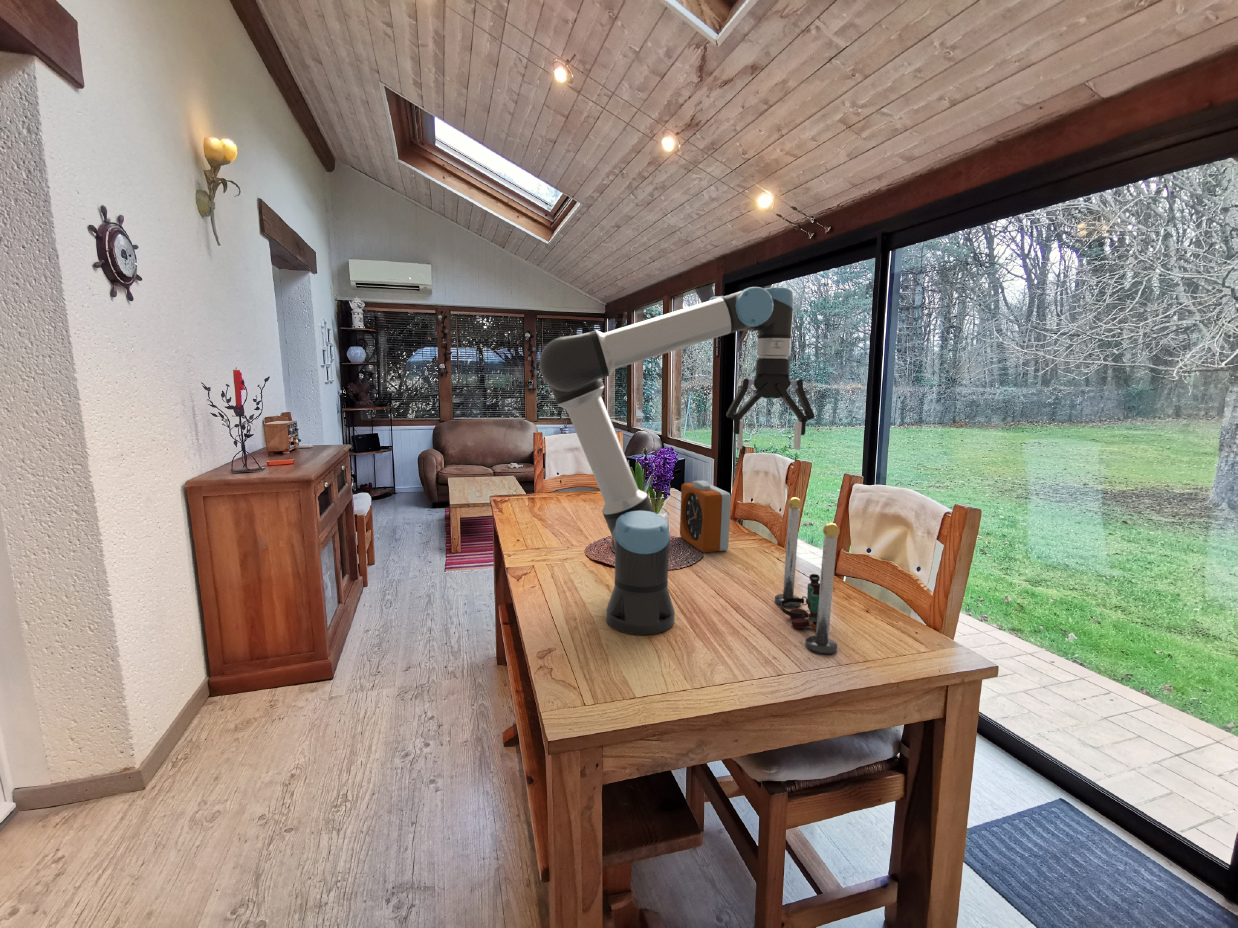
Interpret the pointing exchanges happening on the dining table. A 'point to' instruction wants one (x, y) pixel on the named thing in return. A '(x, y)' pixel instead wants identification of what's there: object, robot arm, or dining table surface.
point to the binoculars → (811, 600)
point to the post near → (825, 595)
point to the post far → (790, 555)
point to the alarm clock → (705, 516)
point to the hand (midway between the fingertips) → (767, 448)
